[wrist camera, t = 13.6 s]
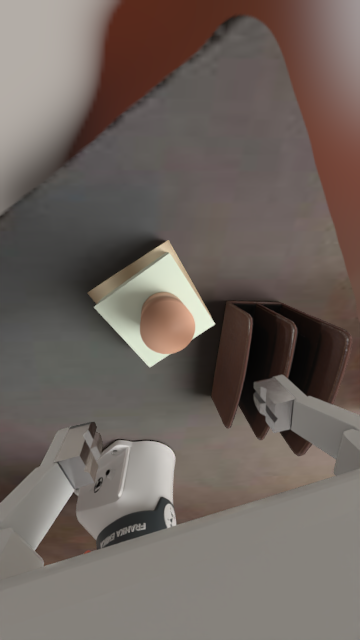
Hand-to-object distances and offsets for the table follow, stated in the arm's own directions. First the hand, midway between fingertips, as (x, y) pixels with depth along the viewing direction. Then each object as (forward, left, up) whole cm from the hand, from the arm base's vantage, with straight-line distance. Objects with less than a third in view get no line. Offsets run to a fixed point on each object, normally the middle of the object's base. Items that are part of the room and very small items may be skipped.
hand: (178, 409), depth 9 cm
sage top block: (0, 0, -17) cm, 17 cm away
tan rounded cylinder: (0, 0, -13) cm, 13 cm away
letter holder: (+8, -17, -21) cm, 28 cm away
